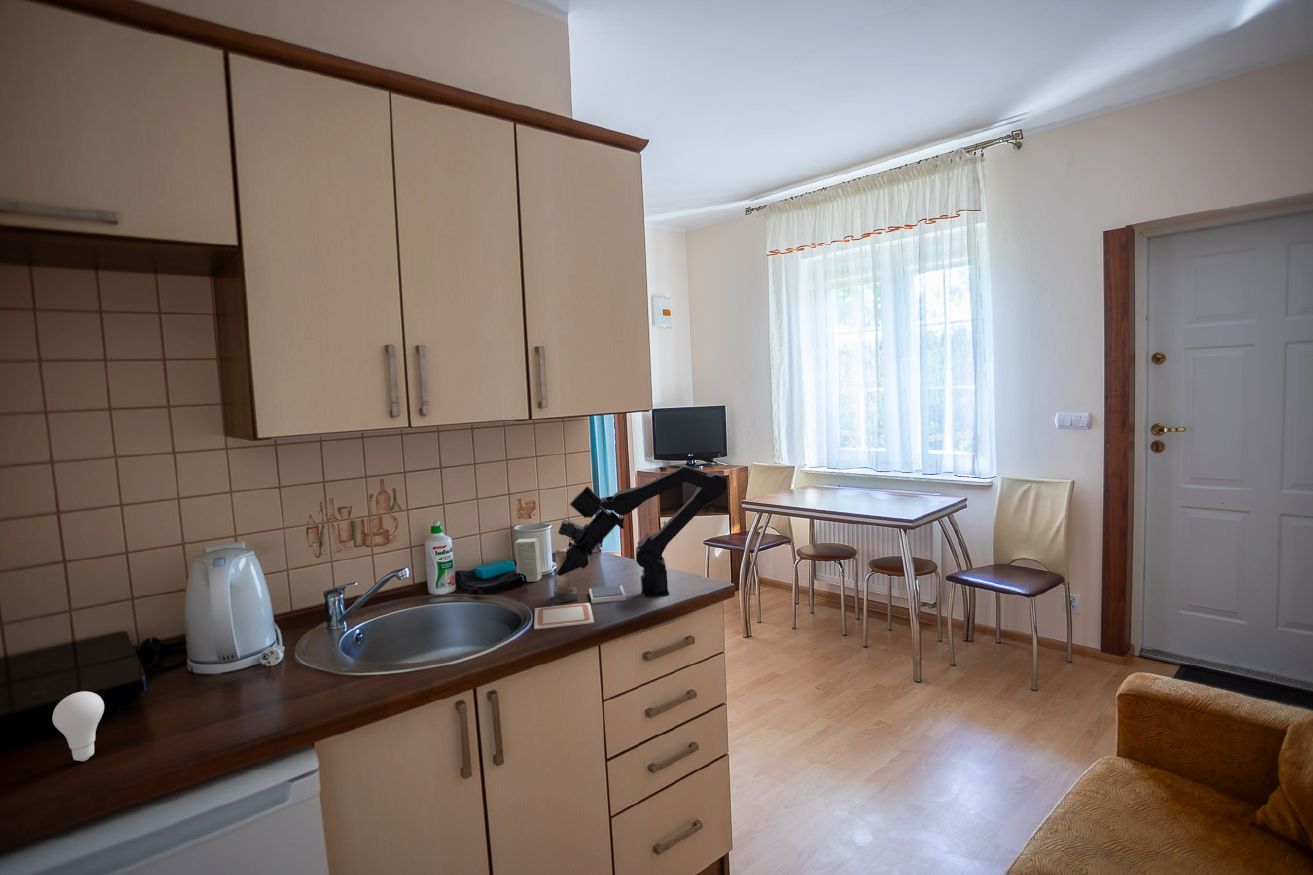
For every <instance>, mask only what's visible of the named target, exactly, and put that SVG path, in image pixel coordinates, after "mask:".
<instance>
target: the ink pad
mask: <svg viewBox="0 0 1313 875" xmlns="http://www.w3.org/2000/svg"><path fill="white" fill-rule="evenodd" d="M588 590H589V592H588V593H589V597H590V601H591V602H590V603H591V604H599V603H608V602H621V601H626V600H627V596H626V595H627V594H626V592H625V590H624V588H623V585H612V586H611V585H609V586H602V587H592V588H589V589H588Z"/></svg>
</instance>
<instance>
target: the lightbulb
mask: <svg viewBox="0 0 1313 875" xmlns="http://www.w3.org/2000/svg"><path fill="white" fill-rule="evenodd" d="M104 711H105V703H104V700H103V699H102V697H101V696H100V695H99V694H97V693H94V692H92V691H78V692H75V693H72V694H70V695H67V696H65V698H63V699H61V700H60V701H59V703H58V704H57V705H56V706H55V708H54V710H53V713H52V723H53V725H54V726H55V728H56V729H57V730H58V731H59V732H60V733H61V734H63V735H64V737H65V738H66V741H67V743H68V748H69V749H70V750H71V755H72V758H73V760H74V761H79V762H85V761H87V760H89V759H90V757H92V756H93V755H94V754H95V741H96V731H97V729H98V728H97V727H98V724H99V723H100V721H101V719H102V716H103V714H104Z"/></svg>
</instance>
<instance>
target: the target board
mask: <svg viewBox="0 0 1313 875" xmlns="http://www.w3.org/2000/svg"><path fill="white" fill-rule="evenodd" d="M591 606H592V605H591V602H585V603H575V604H565V605H554V606H545V607H535V608H534V622H533V624H534V625H533V630H540V629H541V630H542V629H552V628H560V627H568V626H569V627H570V626H580V625H587V624H594V623H595V621H594V620H595V619H594V616H593V611H592V607H591Z"/></svg>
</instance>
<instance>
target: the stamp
mask: <svg viewBox="0 0 1313 875" xmlns="http://www.w3.org/2000/svg"><path fill="white" fill-rule="evenodd" d="M567 549H568V548H560V549H556V550H555V566H556V570H555V571H556V573H557V572H558V570H559V569H560V567H561V566H562V564H563V562H564V561H565V559H566V558H567V557H566V550H567ZM556 581H557V582H556V584H557V585H556V586H557V588H553V595H554V596H553V599H554V601H553V602H554V604H558V603H566V602H567V603H568V602H569V603H570V602H578V601H579V600H578V592H577V586H573V570H572V571H570V572H568V573H566V574H563V575H561V576H559V575H557V574H556Z"/></svg>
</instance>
